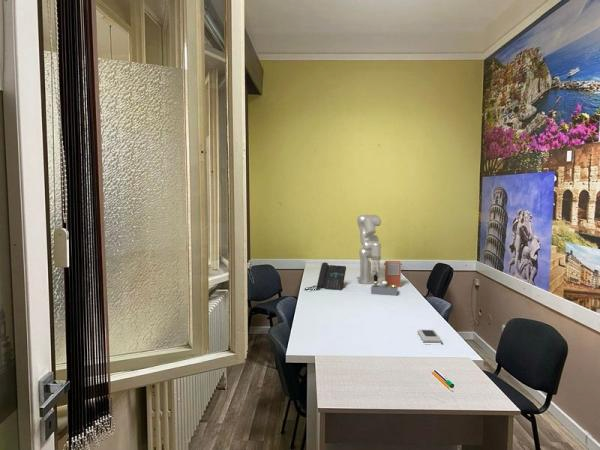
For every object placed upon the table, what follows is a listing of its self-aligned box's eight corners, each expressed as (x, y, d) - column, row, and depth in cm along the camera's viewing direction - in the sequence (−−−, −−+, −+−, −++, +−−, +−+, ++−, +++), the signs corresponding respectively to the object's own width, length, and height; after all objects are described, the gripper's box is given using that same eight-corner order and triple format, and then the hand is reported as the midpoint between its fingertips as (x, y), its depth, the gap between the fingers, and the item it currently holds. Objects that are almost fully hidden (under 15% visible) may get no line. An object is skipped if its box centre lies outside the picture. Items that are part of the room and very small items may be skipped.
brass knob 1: (372, 288, 315) (372, 281, 315) (373, 287, 319) (373, 280, 318) (377, 288, 314) (377, 281, 314) (378, 287, 318) (378, 280, 317)
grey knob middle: (381, 288, 313) (381, 281, 313) (382, 287, 317) (382, 280, 317) (386, 289, 312) (386, 282, 312) (387, 287, 316) (387, 281, 316)
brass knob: (390, 292, 312) (390, 285, 311) (390, 291, 315) (391, 284, 315) (395, 292, 310) (396, 285, 310) (396, 291, 314) (396, 284, 314)
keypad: (423, 338, 210) (417, 328, 225) (423, 345, 211) (417, 334, 226) (442, 338, 210) (434, 328, 224) (442, 345, 210) (434, 335, 225)
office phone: (303, 291, 324) (302, 266, 322) (313, 283, 351) (313, 260, 349) (337, 294, 314) (337, 269, 312) (346, 286, 341) (346, 262, 339)
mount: (371, 293, 313) (371, 287, 312) (372, 290, 323) (372, 284, 322) (397, 295, 307) (397, 289, 307) (397, 292, 317) (397, 286, 317)
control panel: (383, 285, 342) (400, 285, 340) (384, 287, 335) (402, 287, 333) (383, 260, 340) (401, 260, 339) (384, 262, 333) (402, 262, 332)
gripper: (379, 259, 306) (379, 283, 308) (381, 256, 320) (381, 279, 322) (370, 259, 308) (369, 282, 310) (372, 256, 323) (371, 278, 324)
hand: (375, 280), depth 316 cm, fingers closed
